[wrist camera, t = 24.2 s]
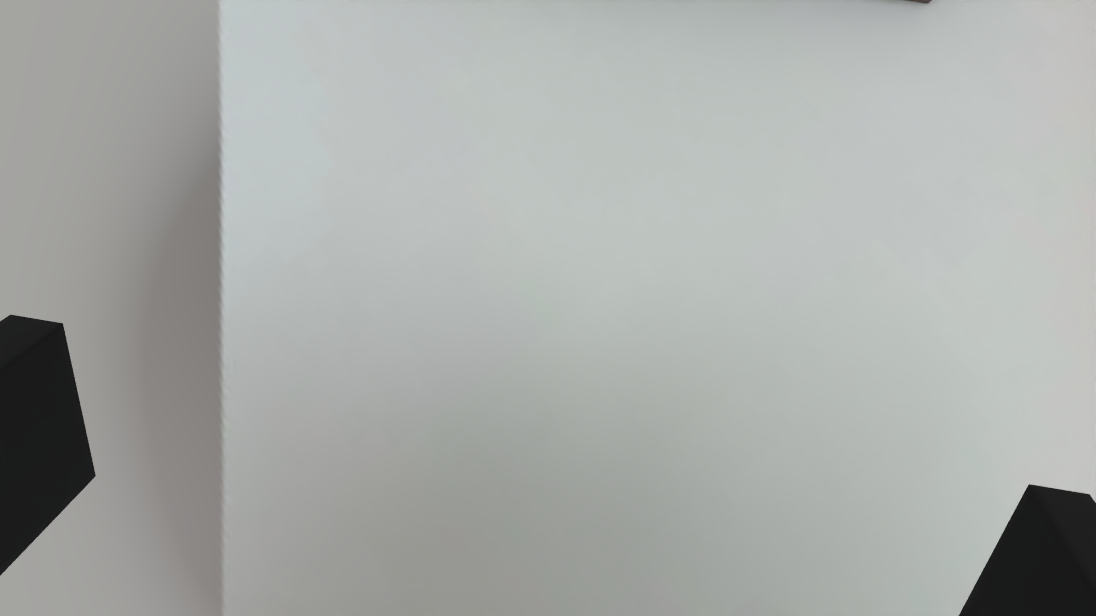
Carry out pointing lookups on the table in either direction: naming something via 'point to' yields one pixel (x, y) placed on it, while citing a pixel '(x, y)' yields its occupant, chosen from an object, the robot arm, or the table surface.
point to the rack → (923, 0)
